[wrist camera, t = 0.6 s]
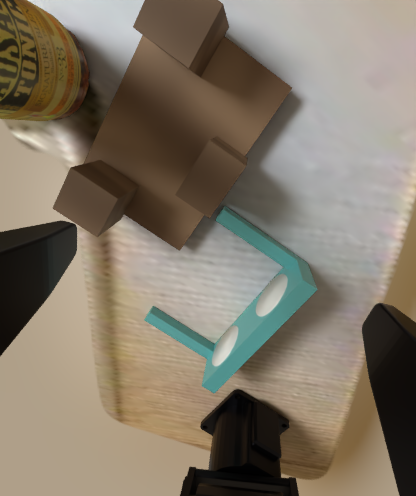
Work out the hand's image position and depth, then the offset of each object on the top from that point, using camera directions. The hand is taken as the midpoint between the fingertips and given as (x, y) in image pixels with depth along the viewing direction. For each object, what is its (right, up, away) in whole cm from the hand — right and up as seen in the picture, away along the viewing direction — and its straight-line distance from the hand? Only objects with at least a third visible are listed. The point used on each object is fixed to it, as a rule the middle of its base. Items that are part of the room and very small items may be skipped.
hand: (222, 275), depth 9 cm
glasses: (+1, -3, +16) cm, 17 cm away
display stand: (-3, +8, +12) cm, 15 cm away
